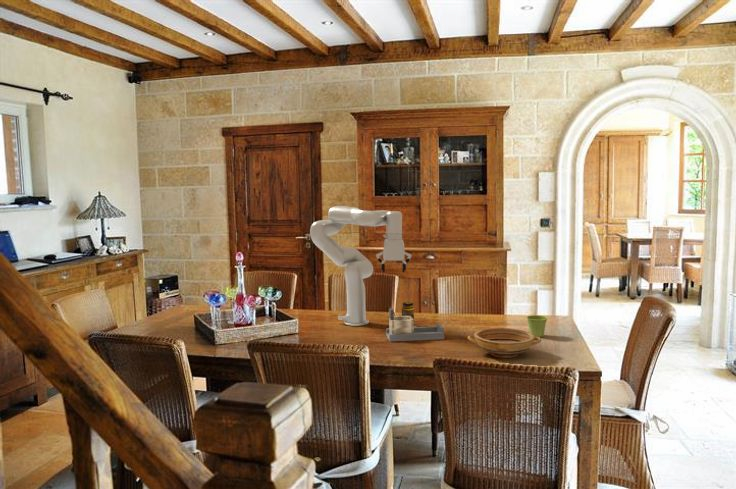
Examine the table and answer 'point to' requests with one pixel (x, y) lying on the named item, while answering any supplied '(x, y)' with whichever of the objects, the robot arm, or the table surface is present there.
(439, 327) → the bay
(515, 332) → the ceramic bowl
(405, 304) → the condiment
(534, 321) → the plant pot
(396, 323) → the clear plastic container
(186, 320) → the table surface
